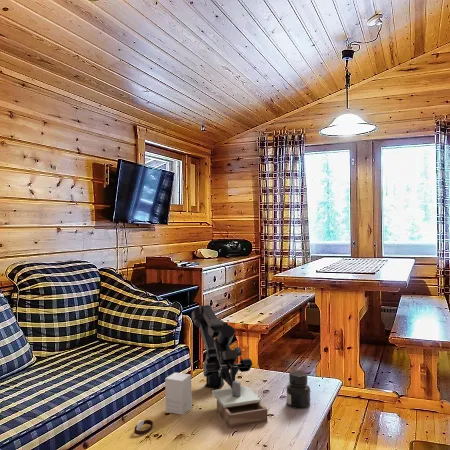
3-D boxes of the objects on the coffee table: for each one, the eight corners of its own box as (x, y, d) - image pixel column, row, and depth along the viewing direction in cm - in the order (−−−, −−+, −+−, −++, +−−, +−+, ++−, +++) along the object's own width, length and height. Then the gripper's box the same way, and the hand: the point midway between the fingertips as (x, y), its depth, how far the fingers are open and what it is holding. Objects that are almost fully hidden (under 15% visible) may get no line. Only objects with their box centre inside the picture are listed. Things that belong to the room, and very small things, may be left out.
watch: (145, 425, 157) (145, 414, 157) (156, 428, 155) (156, 417, 155) (130, 434, 150) (130, 423, 150) (141, 437, 148) (141, 426, 148)
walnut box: (216, 411, 167) (216, 399, 167) (252, 406, 171) (252, 394, 171) (229, 428, 154) (229, 415, 153) (267, 422, 158) (267, 409, 158)
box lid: (211, 393, 172) (211, 377, 172) (246, 388, 177) (246, 372, 177) (223, 407, 159) (223, 390, 159) (260, 402, 164) (260, 385, 164)
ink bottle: (291, 398, 179) (291, 367, 178) (313, 401, 175) (313, 371, 175) (283, 407, 170) (283, 375, 170) (306, 411, 166) (306, 379, 166)
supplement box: (192, 407, 171) (191, 374, 170) (182, 415, 164) (182, 380, 164) (175, 404, 174) (175, 371, 173) (165, 412, 167) (164, 378, 167)
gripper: (204, 342, 172) (214, 381, 162) (250, 338, 178) (262, 375, 168) (199, 357, 180) (207, 395, 169) (243, 352, 186) (254, 388, 175)
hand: (233, 388), depth 170 cm, fingers closed
